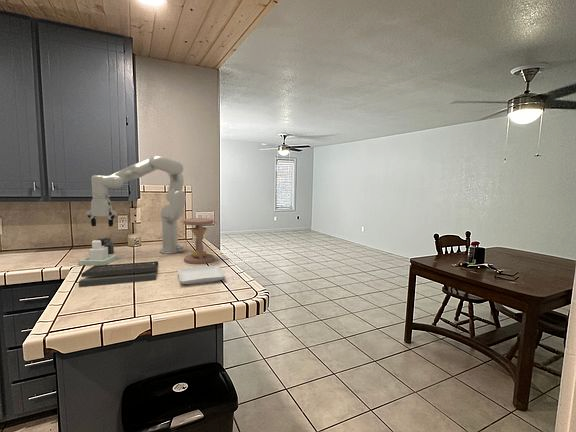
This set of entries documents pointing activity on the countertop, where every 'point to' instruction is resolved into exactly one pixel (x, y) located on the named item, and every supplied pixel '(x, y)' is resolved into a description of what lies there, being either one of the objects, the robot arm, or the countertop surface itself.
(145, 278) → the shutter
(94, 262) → the pale green square tray
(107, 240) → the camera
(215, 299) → the countertop surface
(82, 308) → the countertop surface
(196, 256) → the hourglass
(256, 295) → the countertop surface
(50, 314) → the countertop surface
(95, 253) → the medicine bottle
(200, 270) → the grey flat square slab
